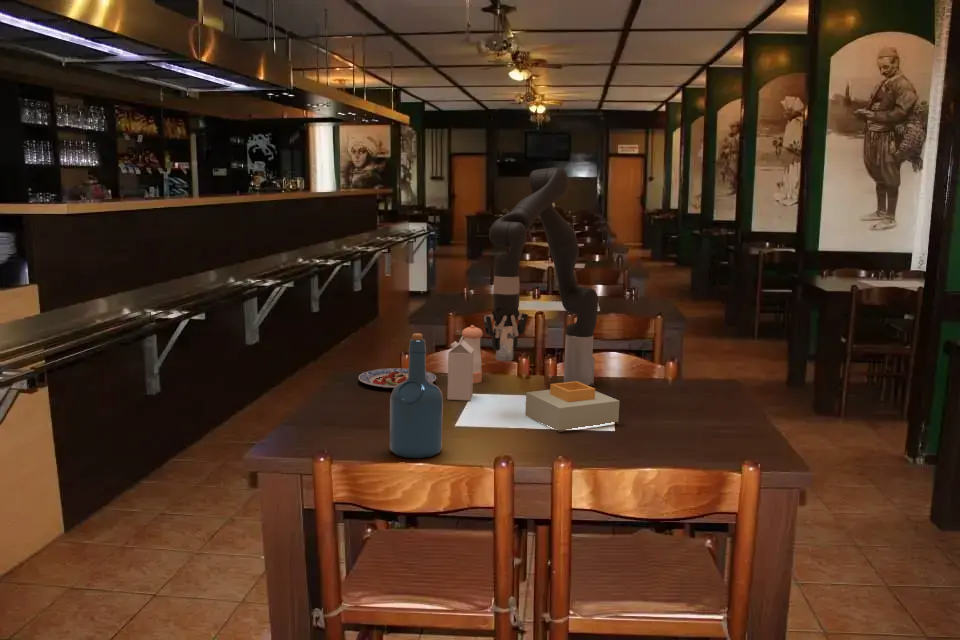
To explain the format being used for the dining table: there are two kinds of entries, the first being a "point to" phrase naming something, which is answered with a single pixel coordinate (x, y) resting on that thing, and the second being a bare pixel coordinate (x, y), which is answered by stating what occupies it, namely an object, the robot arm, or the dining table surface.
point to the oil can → (505, 344)
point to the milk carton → (460, 371)
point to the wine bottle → (416, 409)
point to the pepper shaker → (473, 339)
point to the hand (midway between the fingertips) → (504, 349)
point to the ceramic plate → (389, 377)
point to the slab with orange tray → (571, 406)
